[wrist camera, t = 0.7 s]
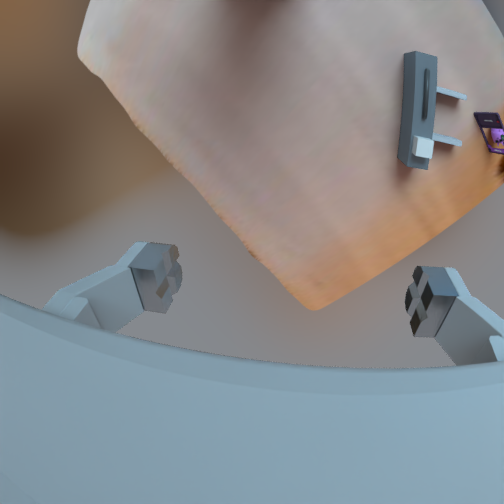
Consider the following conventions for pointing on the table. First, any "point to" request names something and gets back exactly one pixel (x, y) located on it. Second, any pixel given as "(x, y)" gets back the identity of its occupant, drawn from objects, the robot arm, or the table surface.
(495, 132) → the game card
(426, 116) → the charging dock
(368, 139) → the table surface
